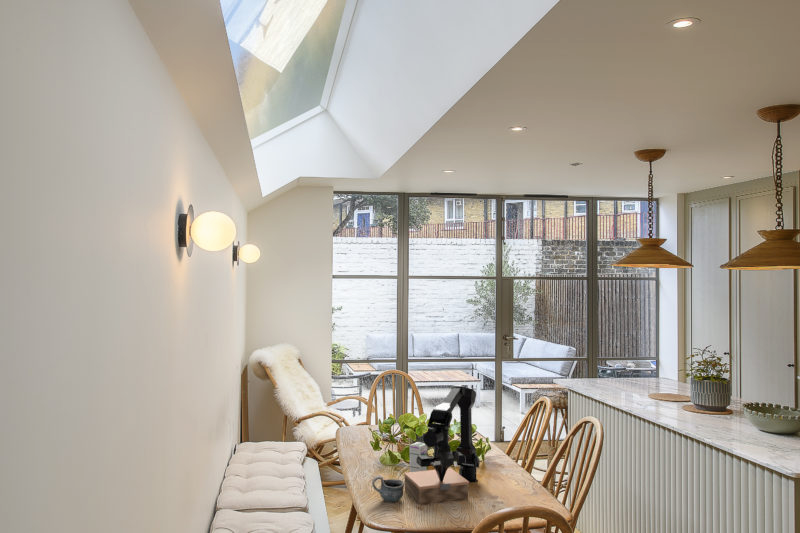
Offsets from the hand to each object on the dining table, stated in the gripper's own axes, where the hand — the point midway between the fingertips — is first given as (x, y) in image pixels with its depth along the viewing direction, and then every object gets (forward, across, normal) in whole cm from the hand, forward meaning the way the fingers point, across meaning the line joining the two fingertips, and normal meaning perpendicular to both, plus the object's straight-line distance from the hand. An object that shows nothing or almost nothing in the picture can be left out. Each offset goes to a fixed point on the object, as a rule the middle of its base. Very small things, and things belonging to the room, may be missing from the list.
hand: (441, 481), depth 239 cm
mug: (+7, -20, +5) cm, 22 cm away
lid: (+2, 0, +5) cm, 6 cm away
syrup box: (+8, +1, +29) cm, 30 cm away
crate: (+7, 0, +6) cm, 9 cm away
